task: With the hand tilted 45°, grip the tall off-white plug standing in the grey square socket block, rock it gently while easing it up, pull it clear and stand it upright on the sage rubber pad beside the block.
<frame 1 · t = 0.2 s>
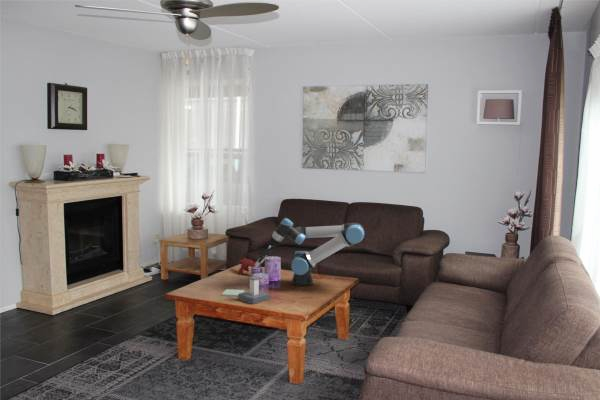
hand: (258, 264, 357), 16 cm above the table, tool tilted 35°, fingers open, 13 cm apart
pad: (233, 293, 341), on the table
decorative bird sculpture: (246, 273, 395), on the table
plug: (254, 288, 328), in the grey square socket block
grey square socket block: (254, 299, 329), on the table
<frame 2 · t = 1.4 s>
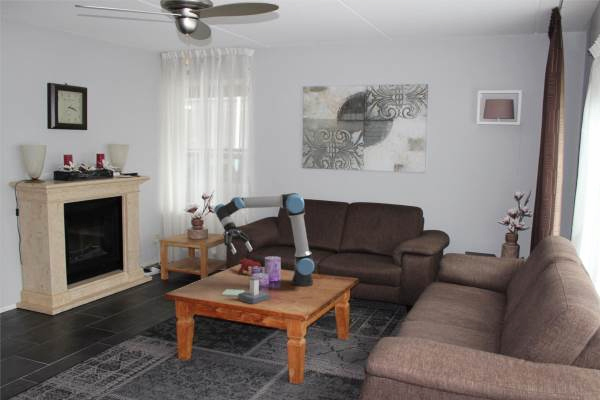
hand: (243, 251, 334), 28 cm above the table, tool tilted 45°, fingers open, 13 cm apart
nothing on the table moved.
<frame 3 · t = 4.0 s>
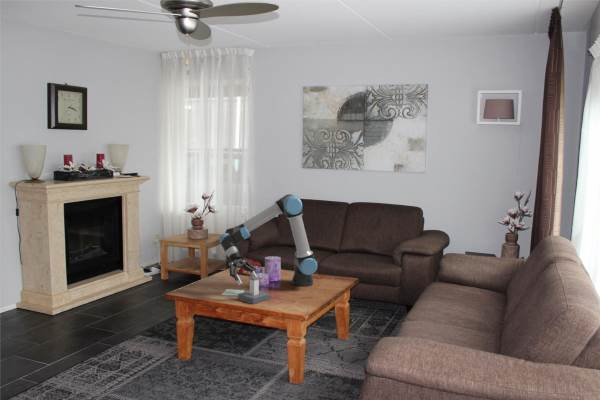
hand: (249, 282, 330), 10 cm above the table, tool tilted 45°, fingers open, 13 cm apart
nothing on the table moved.
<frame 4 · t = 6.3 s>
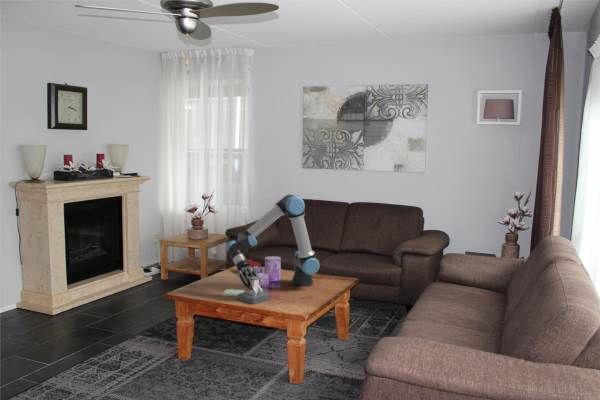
hand: (258, 293, 326), 5 cm above the table, tool tilted 45°, fingers closed on grey square socket block, 4 cm apart
nothing on the table moved.
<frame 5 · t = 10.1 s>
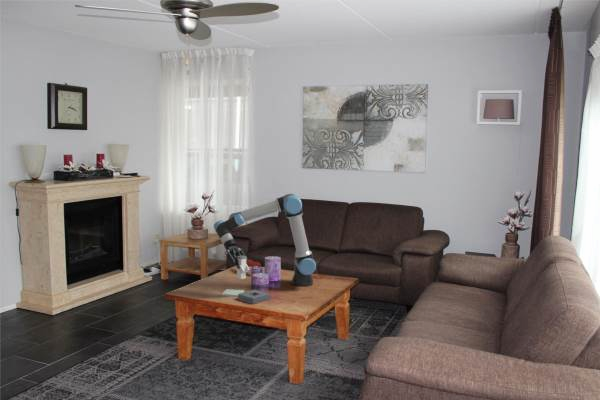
hand: (245, 271, 331), 17 cm above the table, tool tilted 45°, fingers closed on plug, 4 cm apart
plug: (241, 267, 333), point 19 cm above the table, touching gripper
everything else where it was.
when the fingers open (7 cm above the table, at t = 13.1 s): plug stays where it is, resting on pad.
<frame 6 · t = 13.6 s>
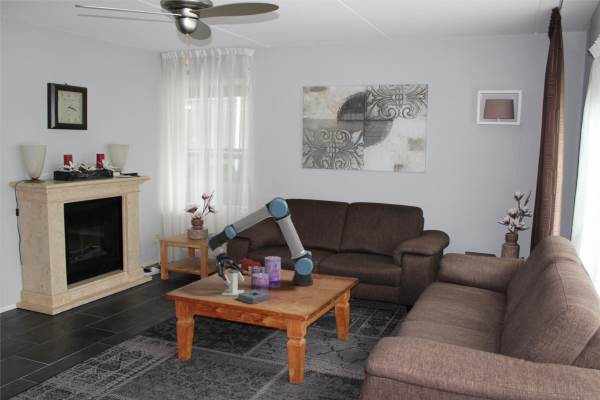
hand: (236, 282, 338), 8 cm above the table, tool tilted 45°, fingers open, 11 cm apart
plug: (233, 281, 340), on the pad, point 8 cm above the table
everything else where it was.
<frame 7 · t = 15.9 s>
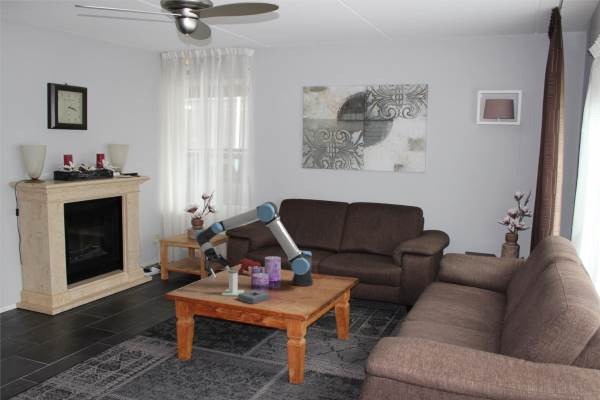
hand: (222, 276, 347), 9 cm above the table, tool tilted 45°, fingers open, 13 cm apart
nothing on the table moved.
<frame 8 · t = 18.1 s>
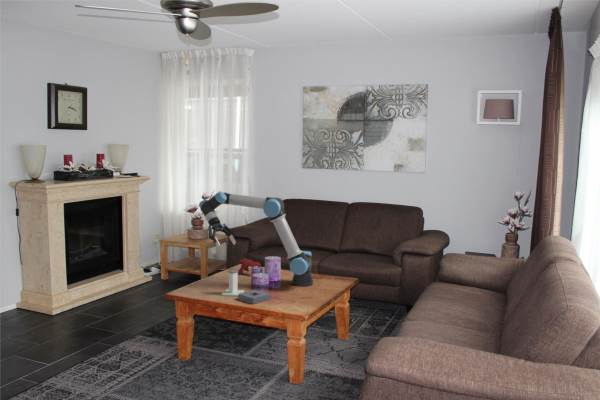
hand: (227, 244, 349), 30 cm above the table, tool tilted 45°, fingers open, 13 cm apart
nothing on the table moved.
at the end: plug inside the target area on the pad (0.0 cm from its centre), point 8.0 cm above the pad's base; plug tilted 0°; plug touching pad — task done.
